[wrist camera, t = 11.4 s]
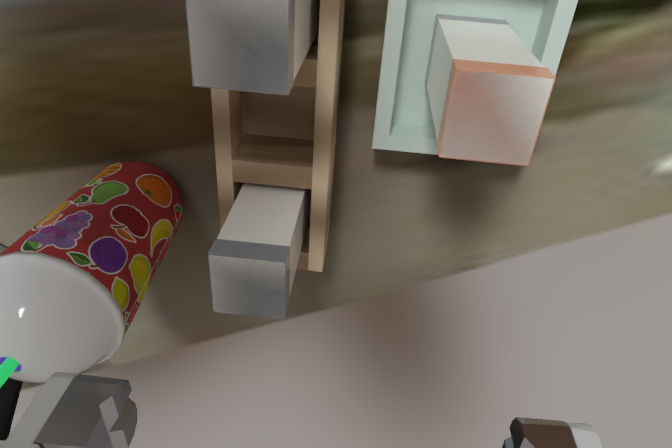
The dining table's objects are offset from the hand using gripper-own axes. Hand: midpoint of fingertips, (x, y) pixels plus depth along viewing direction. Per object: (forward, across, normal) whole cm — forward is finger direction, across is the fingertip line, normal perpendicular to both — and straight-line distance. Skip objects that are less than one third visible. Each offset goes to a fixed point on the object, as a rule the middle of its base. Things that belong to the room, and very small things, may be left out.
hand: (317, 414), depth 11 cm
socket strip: (+26, +5, +3) cm, 27 cm away
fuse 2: (+25, +5, +9) cm, 27 cm away
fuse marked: (+26, -6, -1) cm, 27 cm away
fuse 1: (+25, +5, -4) cm, 26 cm away
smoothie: (+27, +16, +12) cm, 33 cm away
